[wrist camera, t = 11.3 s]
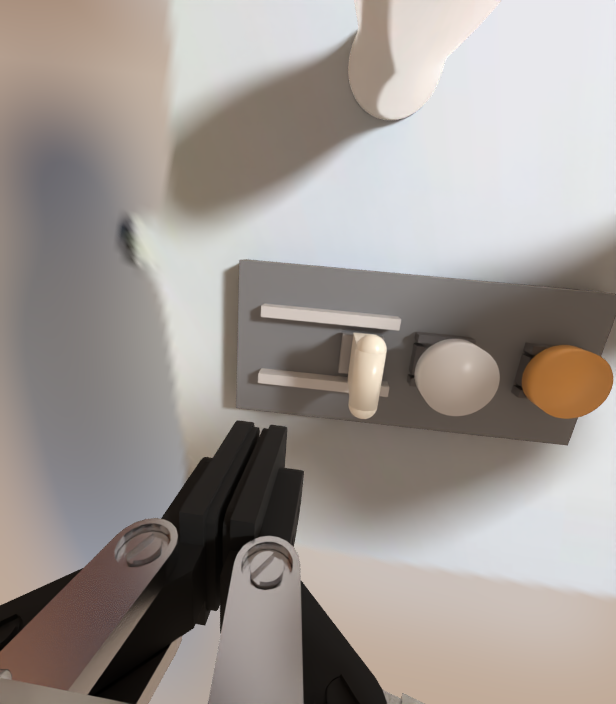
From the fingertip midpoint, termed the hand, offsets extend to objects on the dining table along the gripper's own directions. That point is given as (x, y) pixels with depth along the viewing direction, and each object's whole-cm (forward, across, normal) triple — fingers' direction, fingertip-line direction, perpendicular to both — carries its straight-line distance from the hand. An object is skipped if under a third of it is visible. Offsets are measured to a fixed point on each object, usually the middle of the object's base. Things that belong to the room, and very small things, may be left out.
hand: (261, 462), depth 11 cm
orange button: (+15, -18, 0) cm, 24 cm away
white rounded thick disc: (+13, -10, 0) cm, 17 cm away
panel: (+17, -8, 0) cm, 19 cm away
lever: (+15, -4, 0) cm, 16 cm away
